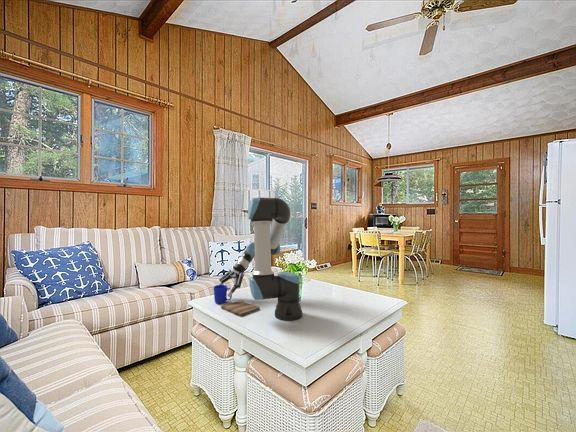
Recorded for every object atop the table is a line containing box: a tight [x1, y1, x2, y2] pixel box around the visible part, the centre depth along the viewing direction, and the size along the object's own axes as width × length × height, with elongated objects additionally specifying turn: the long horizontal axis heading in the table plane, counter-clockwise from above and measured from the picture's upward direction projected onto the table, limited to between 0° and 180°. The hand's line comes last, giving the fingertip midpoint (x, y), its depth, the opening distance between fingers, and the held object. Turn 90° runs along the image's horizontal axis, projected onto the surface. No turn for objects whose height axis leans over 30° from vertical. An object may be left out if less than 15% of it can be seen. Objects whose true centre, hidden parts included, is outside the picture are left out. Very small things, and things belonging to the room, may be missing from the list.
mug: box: [213, 284, 233, 305], centre depth 173 cm, size 8×12×10 cm
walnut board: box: [220, 300, 260, 317], centre depth 162 cm, size 18×14×2 cm
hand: (221, 293), depth 173 cm, fingers open, 13 cm apart
